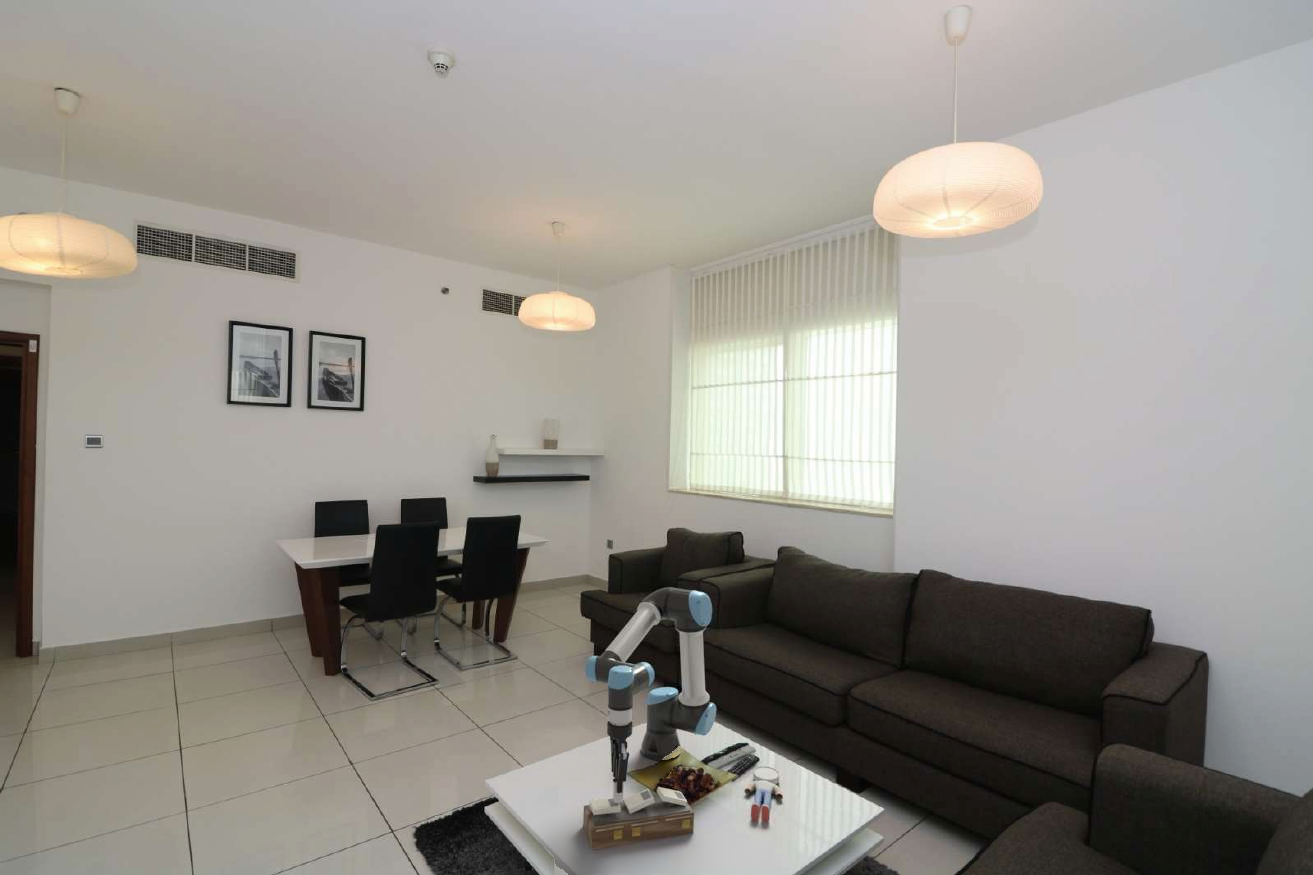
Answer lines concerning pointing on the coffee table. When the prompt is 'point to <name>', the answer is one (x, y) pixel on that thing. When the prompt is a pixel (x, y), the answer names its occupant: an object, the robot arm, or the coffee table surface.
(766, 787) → the toy
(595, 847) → the wooden storage box
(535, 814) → the coffee table surface
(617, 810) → the rocker
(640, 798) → the block
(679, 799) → the rocker
